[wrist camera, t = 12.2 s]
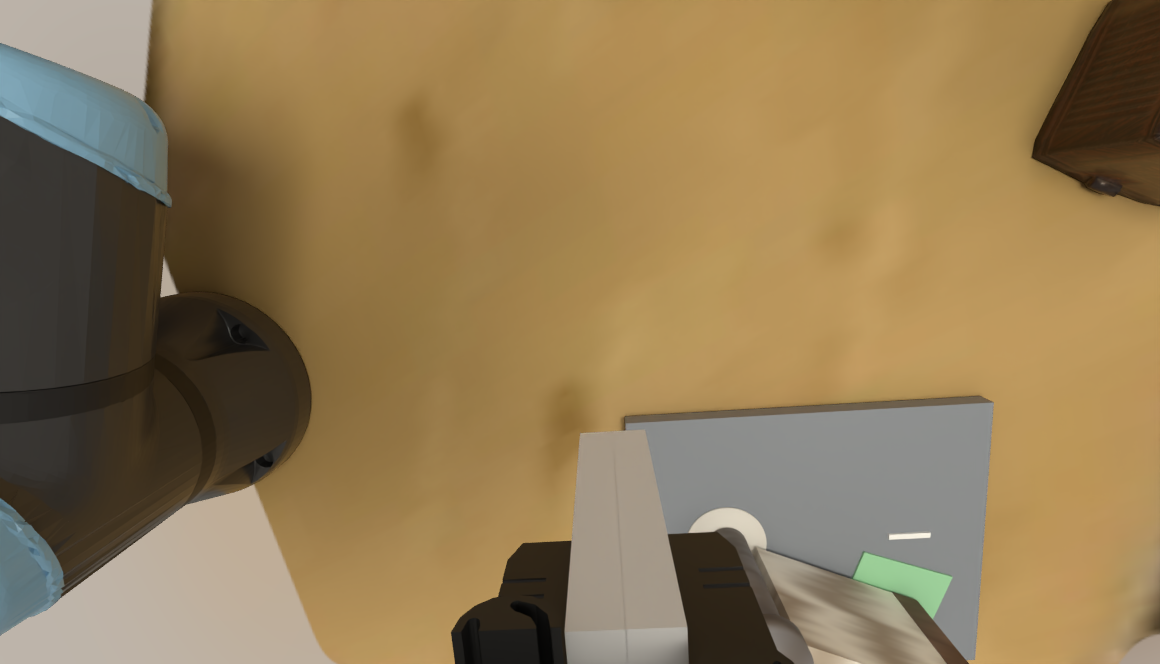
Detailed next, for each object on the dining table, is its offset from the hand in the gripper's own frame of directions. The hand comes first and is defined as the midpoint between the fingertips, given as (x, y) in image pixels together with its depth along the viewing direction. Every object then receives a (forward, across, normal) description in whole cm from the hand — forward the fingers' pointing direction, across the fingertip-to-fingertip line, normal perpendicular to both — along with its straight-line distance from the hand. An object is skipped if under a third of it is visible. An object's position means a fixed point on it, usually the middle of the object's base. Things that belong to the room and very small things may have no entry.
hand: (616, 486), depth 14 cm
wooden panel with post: (+28, +14, -22) cm, 38 cm away
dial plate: (+29, +14, -20) cm, 38 cm away
